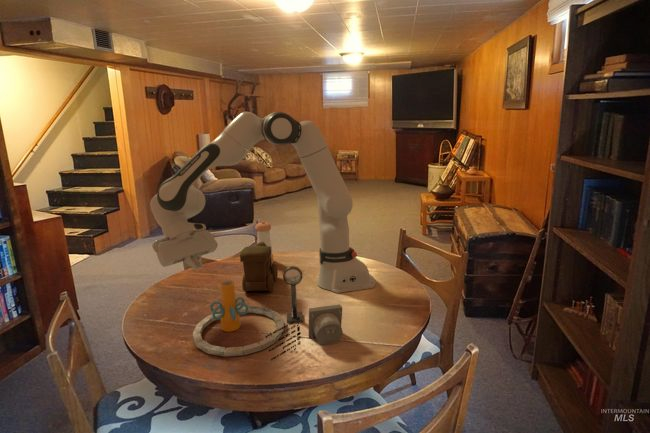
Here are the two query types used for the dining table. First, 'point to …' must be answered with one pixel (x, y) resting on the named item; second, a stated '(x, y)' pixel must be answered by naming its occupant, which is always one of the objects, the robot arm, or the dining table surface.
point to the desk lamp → (293, 291)
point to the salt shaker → (264, 234)
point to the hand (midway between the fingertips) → (198, 268)
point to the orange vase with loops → (229, 308)
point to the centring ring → (245, 349)
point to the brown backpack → (258, 268)
